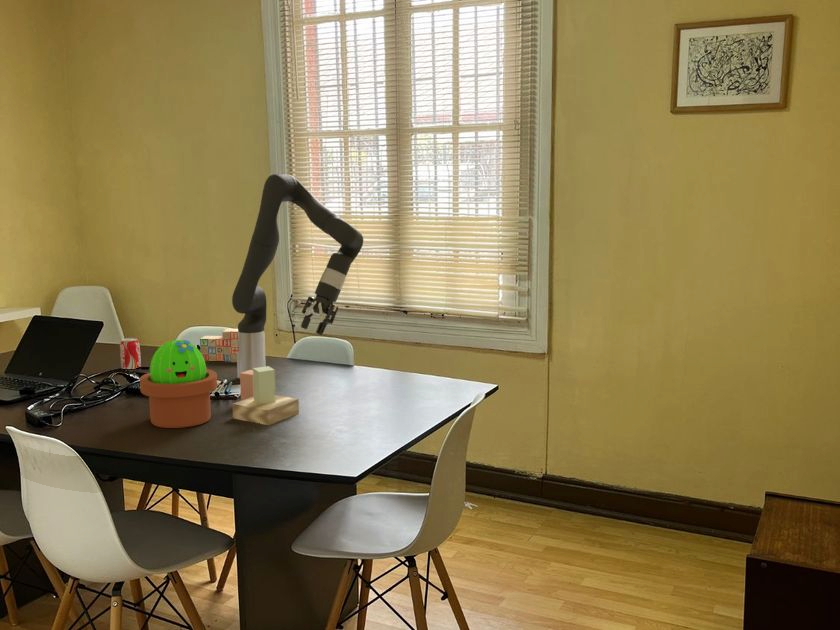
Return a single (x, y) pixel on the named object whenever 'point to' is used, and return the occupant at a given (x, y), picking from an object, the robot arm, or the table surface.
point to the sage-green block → (264, 385)
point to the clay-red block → (246, 384)
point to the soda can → (130, 353)
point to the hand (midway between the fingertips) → (311, 331)
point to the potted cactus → (178, 386)
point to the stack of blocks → (220, 346)
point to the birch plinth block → (265, 410)
